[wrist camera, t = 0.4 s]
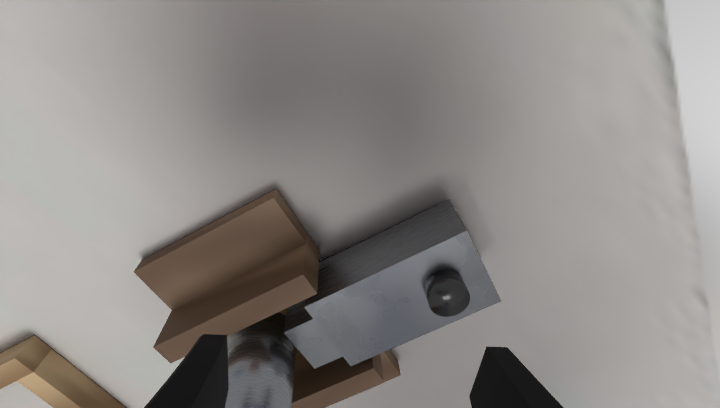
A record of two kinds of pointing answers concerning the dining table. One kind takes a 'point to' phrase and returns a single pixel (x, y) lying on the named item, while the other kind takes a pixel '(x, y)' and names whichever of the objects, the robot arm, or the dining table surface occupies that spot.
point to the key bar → (391, 290)
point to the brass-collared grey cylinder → (261, 365)
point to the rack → (51, 377)
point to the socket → (251, 292)
